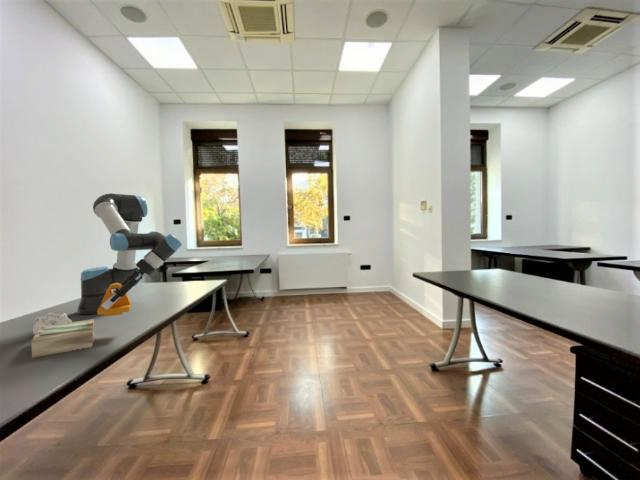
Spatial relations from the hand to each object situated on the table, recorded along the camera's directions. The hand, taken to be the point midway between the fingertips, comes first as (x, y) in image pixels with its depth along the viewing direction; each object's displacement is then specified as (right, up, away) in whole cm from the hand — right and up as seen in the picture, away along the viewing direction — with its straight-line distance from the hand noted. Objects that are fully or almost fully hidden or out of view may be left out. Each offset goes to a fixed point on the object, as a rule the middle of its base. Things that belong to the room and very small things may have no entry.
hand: (104, 305), depth 118 cm
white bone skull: (-25, -13, +4) cm, 28 cm away
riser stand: (-8, -13, -9) cm, 17 cm away
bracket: (+3, -4, +2) cm, 5 cm away
